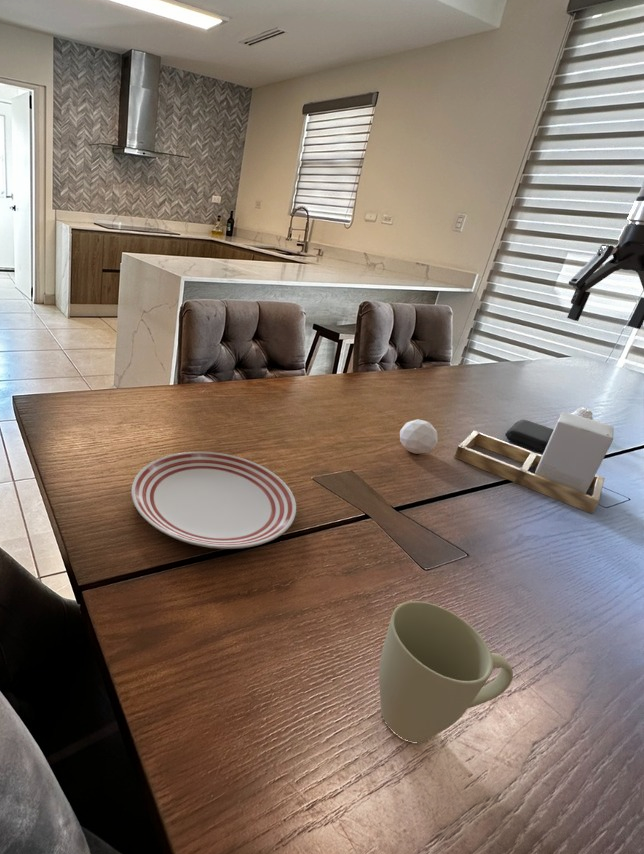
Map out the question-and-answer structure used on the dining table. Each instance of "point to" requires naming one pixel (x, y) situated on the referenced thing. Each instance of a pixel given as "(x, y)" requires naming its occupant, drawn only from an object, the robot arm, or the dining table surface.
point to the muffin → (583, 413)
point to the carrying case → (529, 435)
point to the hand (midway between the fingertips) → (602, 323)
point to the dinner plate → (213, 500)
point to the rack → (525, 470)
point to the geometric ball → (418, 436)
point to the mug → (434, 670)
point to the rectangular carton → (575, 451)
